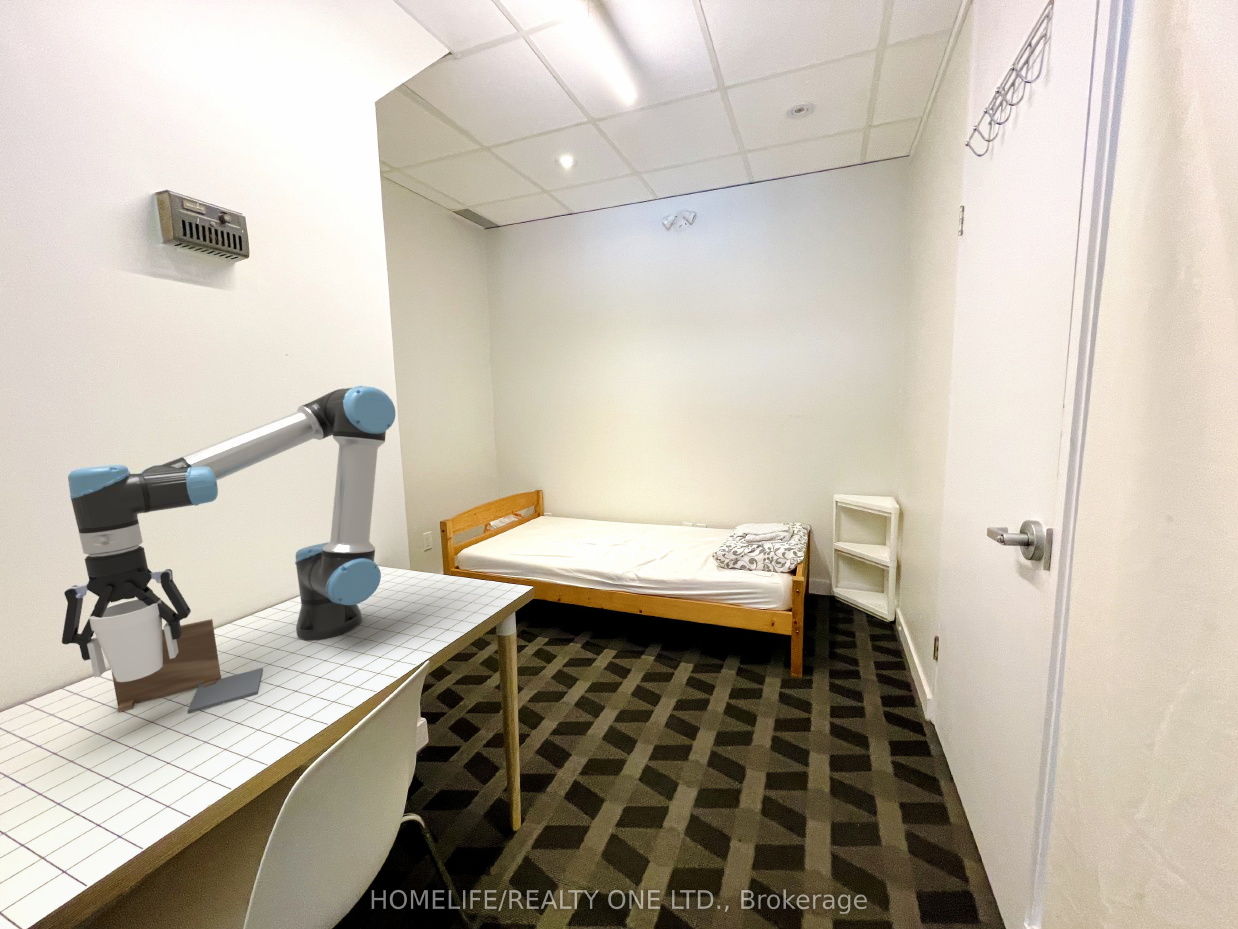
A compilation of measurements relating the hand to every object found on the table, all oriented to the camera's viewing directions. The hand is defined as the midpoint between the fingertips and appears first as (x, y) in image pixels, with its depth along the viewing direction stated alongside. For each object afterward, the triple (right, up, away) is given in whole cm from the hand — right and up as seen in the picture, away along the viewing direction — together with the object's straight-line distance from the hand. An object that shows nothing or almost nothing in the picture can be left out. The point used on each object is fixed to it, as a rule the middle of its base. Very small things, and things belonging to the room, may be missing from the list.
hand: (138, 664), depth 90 cm
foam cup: (0, -2, 0) cm, 2 cm away
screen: (-4, -11, +10) cm, 15 cm away
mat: (+8, -10, +11) cm, 17 cm away
